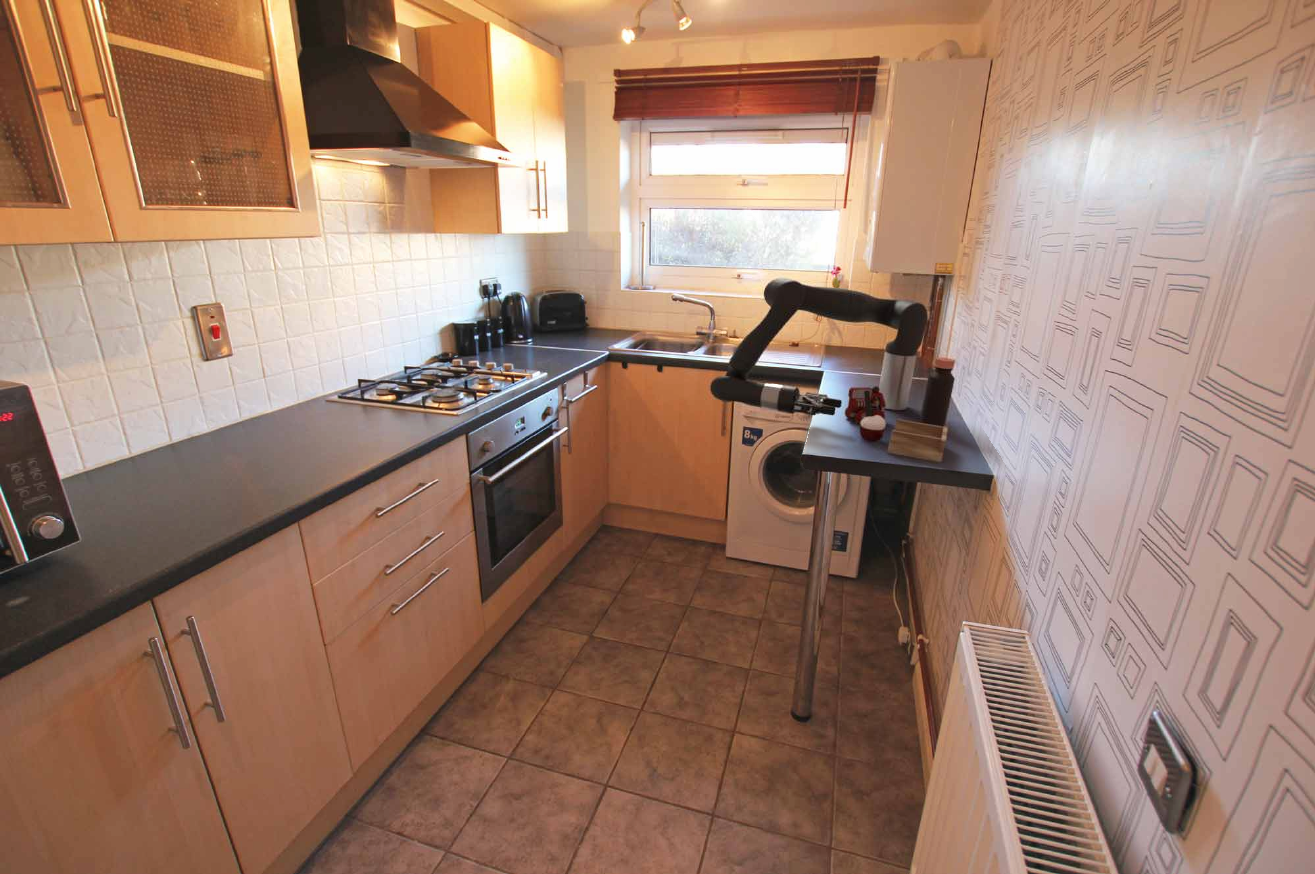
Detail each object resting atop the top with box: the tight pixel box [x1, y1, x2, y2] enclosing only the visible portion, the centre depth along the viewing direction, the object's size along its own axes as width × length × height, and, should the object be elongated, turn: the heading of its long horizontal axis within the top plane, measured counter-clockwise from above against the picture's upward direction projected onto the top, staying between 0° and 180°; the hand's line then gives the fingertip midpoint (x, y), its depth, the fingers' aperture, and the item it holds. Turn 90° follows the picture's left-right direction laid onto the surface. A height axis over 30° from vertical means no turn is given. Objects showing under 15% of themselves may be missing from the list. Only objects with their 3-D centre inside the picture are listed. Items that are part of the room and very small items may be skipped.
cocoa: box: [859, 390, 887, 442], centre depth 161 cm, size 10×6×12 cm, turn 174°
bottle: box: [918, 357, 956, 427], centre depth 172 cm, size 7×7×20 cm
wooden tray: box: [886, 418, 949, 463], centre depth 156 cm, size 14×12×6 cm
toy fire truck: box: [844, 385, 886, 425], centre depth 177 cm, size 7×12×10 cm, turn 106°
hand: (838, 407), depth 165 cm, fingers open, 8 cm apart
